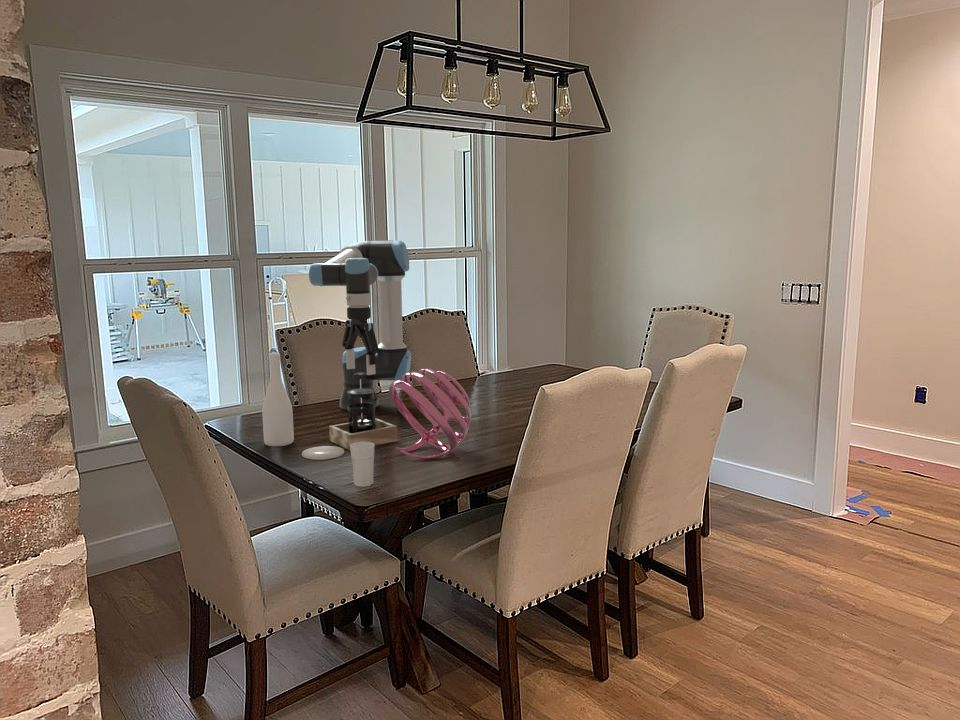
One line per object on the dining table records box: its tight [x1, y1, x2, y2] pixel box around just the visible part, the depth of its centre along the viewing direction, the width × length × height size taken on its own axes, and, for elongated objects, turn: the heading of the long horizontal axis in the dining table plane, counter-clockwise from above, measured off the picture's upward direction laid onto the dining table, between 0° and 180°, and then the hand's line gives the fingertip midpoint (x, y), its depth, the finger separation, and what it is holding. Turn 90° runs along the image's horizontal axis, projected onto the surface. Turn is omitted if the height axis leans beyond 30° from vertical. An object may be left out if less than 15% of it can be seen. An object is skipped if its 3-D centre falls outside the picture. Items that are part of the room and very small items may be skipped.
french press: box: [347, 372, 376, 434], centre depth 250 cm, size 12×9×23 cm
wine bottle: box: [261, 351, 295, 447], centre depth 247 cm, size 10×10×30 cm
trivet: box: [301, 445, 345, 461], centre depth 238 cm, size 13×13×1 cm
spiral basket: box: [388, 367, 472, 460], centre depth 235 cm, size 28×28×27 cm
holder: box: [328, 417, 398, 451], centre depth 252 cm, size 14×17×5 cm
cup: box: [349, 442, 375, 488], centre depth 209 cm, size 7×7×11 cm
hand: (360, 371), depth 248 cm, fingers open, 13 cm apart
